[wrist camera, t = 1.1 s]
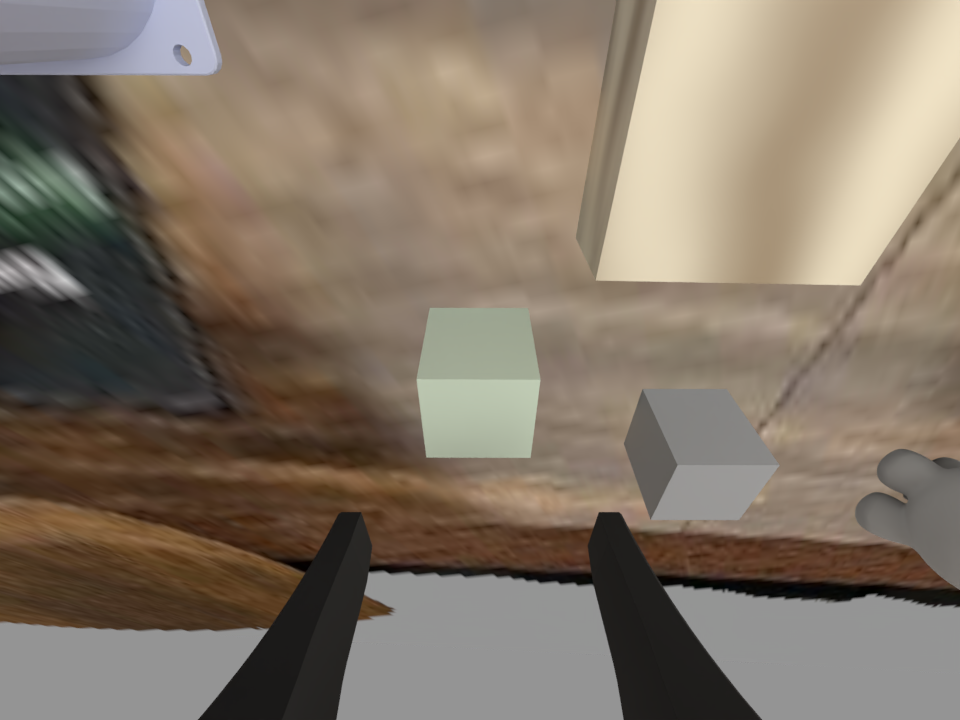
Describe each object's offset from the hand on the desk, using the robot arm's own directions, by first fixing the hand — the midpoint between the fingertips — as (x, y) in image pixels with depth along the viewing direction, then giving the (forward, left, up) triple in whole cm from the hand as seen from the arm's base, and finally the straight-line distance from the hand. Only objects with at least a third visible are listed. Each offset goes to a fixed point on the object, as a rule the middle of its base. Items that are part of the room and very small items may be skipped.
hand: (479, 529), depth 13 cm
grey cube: (+11, -5, -10) cm, 15 cm away
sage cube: (0, 0, -10) cm, 10 cm away
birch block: (+8, +10, -10) cm, 16 cm away
